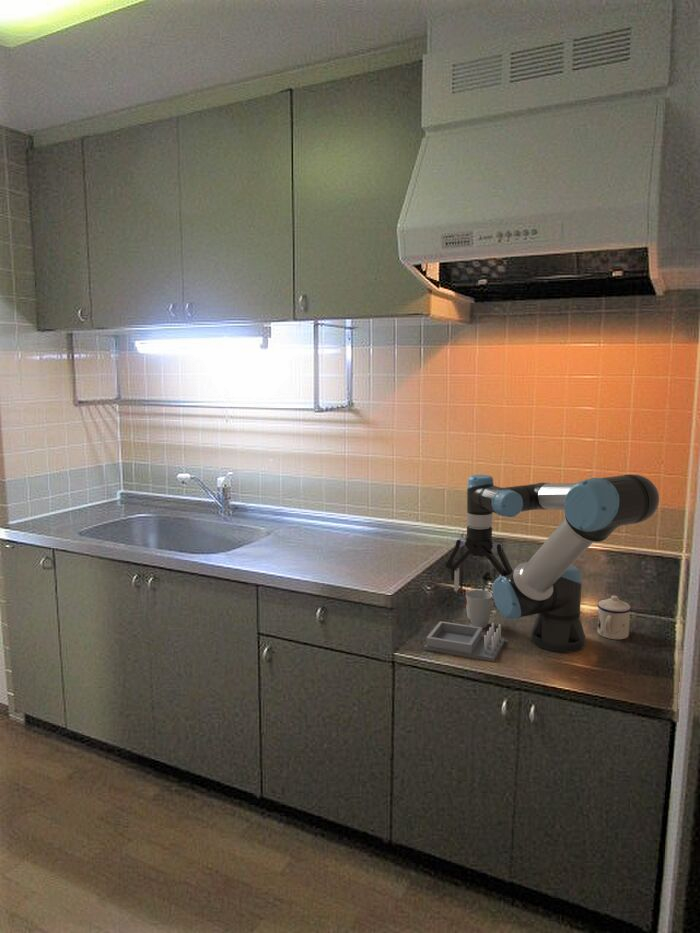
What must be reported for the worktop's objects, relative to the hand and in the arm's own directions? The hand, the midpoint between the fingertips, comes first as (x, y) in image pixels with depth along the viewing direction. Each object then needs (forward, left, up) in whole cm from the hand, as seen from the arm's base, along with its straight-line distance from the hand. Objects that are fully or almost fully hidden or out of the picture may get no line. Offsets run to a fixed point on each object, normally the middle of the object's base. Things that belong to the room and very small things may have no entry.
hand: (478, 593), depth 202 cm
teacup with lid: (-38, -7, -11) cm, 40 cm away
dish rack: (0, +16, -10) cm, 19 cm away
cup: (0, 0, -11) cm, 11 cm away
